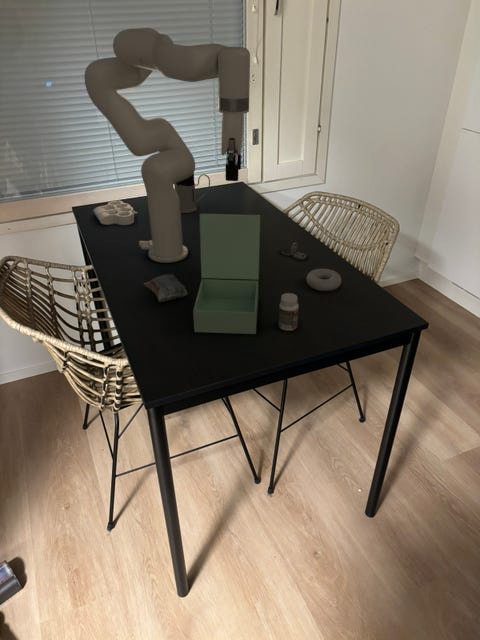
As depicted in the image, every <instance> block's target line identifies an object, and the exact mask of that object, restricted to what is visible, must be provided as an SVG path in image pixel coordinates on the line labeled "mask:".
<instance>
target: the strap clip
mask: <svg viewBox="0 0 480 640" xmlns="http://www.w3.org/2000/svg"><path fill="white" fill-rule="evenodd" d="M297 249H298V242H292V244H291V246H290V249H287V248H284V249H282V250H281V251H280V253H281V254H282V255H285V256H287V257H290V256H292V258H293V259H297V260H301V261H302V260H305V259H306V258H307V257H308V256H307V254H305V253H303V252H300V251H297Z"/></svg>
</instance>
